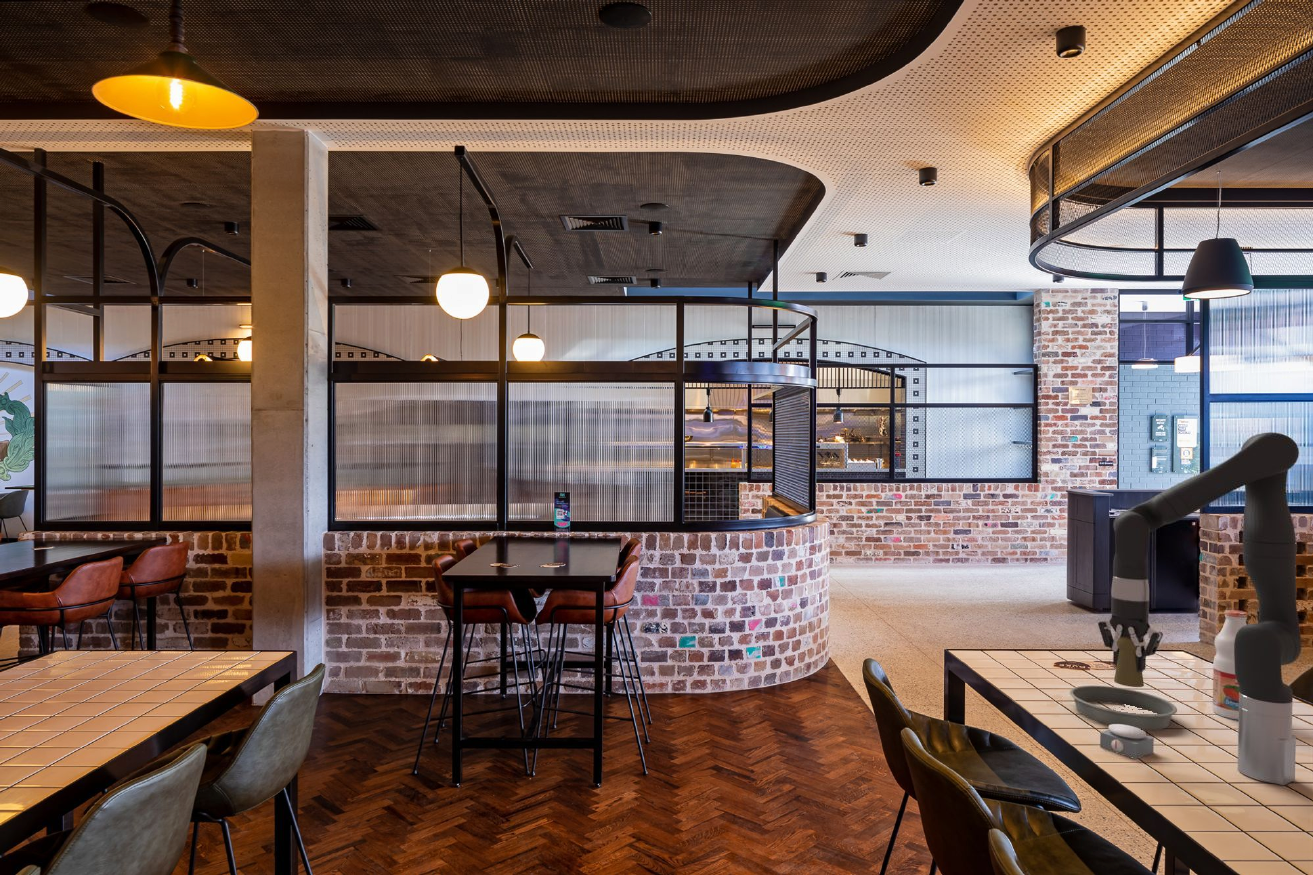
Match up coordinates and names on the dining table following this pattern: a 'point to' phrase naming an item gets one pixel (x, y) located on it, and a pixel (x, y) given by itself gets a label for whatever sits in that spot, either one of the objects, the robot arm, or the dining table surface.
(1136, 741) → the scale
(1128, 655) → the olive pepper mill
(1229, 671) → the fruit juice
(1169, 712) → the cake pan
